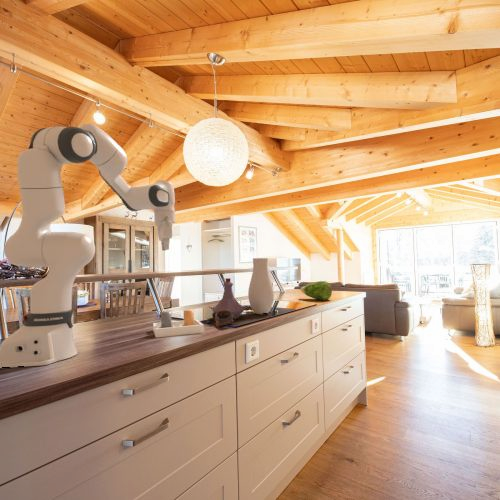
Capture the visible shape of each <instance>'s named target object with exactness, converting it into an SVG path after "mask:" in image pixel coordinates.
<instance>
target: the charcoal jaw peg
mask: <svg viewBox="0 0 500 500" xmlns="http://www.w3.org/2000/svg"><path fill="white" fill-rule="evenodd" d="M160 322H161V328H168V327H171V322H172V311H169V310H167V311H160Z"/></svg>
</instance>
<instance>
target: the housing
mask: <svg viewBox="0 0 500 500" xmlns="http://www.w3.org/2000/svg"><path fill="white" fill-rule="evenodd" d="M204 326H205V325H204V323H202V322H201V321H200V320H198V319H194V325H191V326H184V320H176V321H174V320H173V321H172V320H171V327H168V328H161V321H160V322H153V323H152V331H153V334H154V336H155V338H164V337H174V336H175V337H176V336H185V335H186V336H187V335H194V334H204V332H205V327H204Z"/></svg>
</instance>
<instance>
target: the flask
mask: <svg viewBox="0 0 500 500" xmlns="http://www.w3.org/2000/svg"><path fill="white" fill-rule="evenodd" d="M222 285H223V286H224V288H223V289H224V290H223V294H222V298H221V299H220V300H219V302H218V303H217V304H216V305H215V307H213V309H212V313H214V312H218V311H220V310H229V311H231V312H232V315H233V316H234V317H232V318H233V319H234V320H237V319H239V318H240V316H241V315H242V313H244V311H245V310H246V309H245V308H244V307H243V306H242V305H241V304H240V303H239V302H238V301H237V299H236V298H235V296H234V291H233V285H234V283H233V282H231V278H230V277H229V278H228V277H227V278H225V282H224V283H223V284H222ZM220 315H222V314H220ZM236 318H237V319H236Z"/></svg>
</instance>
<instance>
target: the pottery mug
mask: <svg viewBox="0 0 500 500" xmlns="http://www.w3.org/2000/svg"><path fill="white" fill-rule="evenodd" d="M220 314H222V315H220ZM211 315H212V318H213V320H214V321H215V327H216V328H217V329H219V327H221V326H226V325H229V324H230V325H232V324H233V325H234V321H235V319H234V320H233V318H232V317H234V316H233V315H232V312H231V311H229V310H220V311H218V312H212V314H211Z"/></svg>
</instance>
